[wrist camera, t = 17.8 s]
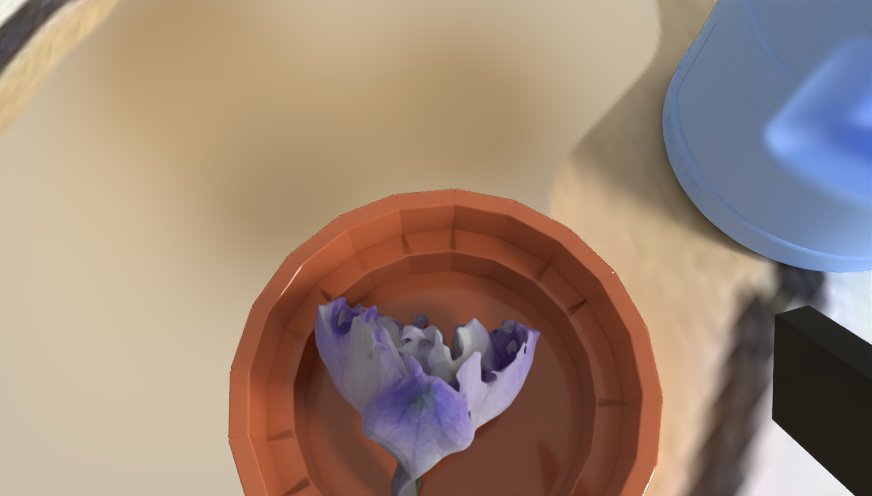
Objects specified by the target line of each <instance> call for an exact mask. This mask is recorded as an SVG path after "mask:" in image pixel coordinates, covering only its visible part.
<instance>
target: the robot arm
mask: <svg viewBox="0 0 872 496" xmlns="http://www.w3.org/2000/svg"><path fill="white" fill-rule="evenodd" d="M772 420H774V421H775V422H776V423H777V424H778V425H779V426H780V427H781V428H782V429H783V430H784V431H785V432H786V433H788V434H789V435H790V436H791V437H792V438H793V439H794V440H795V441H796V442H797V443H798V444H799V445H801V446H802V447H803V448H804V449H805V450H806V451H807V452H808V453H809V454H810V455H811V456H812V457H814V458H815V459H816V460H817V461H818V462H819V463H820V464H821V465H822V466H823V467H824V468H825V469H826V470H828V471H829V472H830V473H831V474H832V475H833V476H834V477H835V478H836V479H837V480H838V481H839V482H841V483H842V484H843V485H844V486H845V487H846V488H847V489H848V490H849V491H850V492H851V493H852V494H854V495H855V496H872V345H871V344H870V343H868V342H866V341H865V340H863V339H862V338H860V337H858V336H857V335H855V334H854V333H852V332H851V331H849V330H847V329H846V328H844V327H843V326H841V325H839V324H838V323H836V322H835V321H833V320H831V319H830V318H828V317H827V316H825V315H824V314H822V313H820V312H819V311H817V310H816V309H814V308H812V307H811V306H809V305H808V306H804V307H801V308H797V309H794V310H790V311H787V312H783V313H780V314H776V315H775V333H774V368H773V402H772Z"/></svg>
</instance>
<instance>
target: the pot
mask: <svg viewBox="0 0 872 496" xmlns="http://www.w3.org/2000/svg"><path fill="white" fill-rule="evenodd" d="M338 297H344V298H346V300H347V304H348V305H349V306H350V307H351V308H352V309H353V307H354V306H355V305H357V304H359V303H360V305H361V306H362V307H365V308H370V307H372V306H374V305H376V308H377V312H378V313H379V314H380V315H382V316H385V315H386V316H390V317H392V318H394V319H396V320H397V321H399V322H401V323H402V324H404V325H406V326H409V325H410V324H411V323H412V319H413V316H414V315H416V314H419V313H422V314H424V315H425V316H427V317H428V318H429V321H428V324H426V325H425V326H424V329H425V328H427V327H429V326H432V325H433V326H435V327H436V328H437V329H438V330H440V331H442V332H444V334H445V335H444V341H445V344H446V345H447V346H448V347H449V348H450V349H451V350H452V351H453V348H452V341H453V337H454V332H455V327H456V325H457V324H465V325H467V324H468V323H469V322H470V321H471V320H472V319H473V318H476V319H477V320H478V321H479V322H480V323H481V324H482V325H483V326H484V327H485V329H486V330H487V332H491V331H492V330H494V329H495V328H501V327H502V320H504V321H507V320H514V321H516V322H517V323H520V324H523V325H525V326H527V327H530V328H533V329H536V330H539V332H540V335H539V338H538V340H537V342H536V347H535V352H534V357H533V362H532V365H531V367H530V370H529V372H528V374H527V377H526V379H525V382H524V384H523V386H522V388H521V390H520V391H519V393H518V395H517V396H516V398H515V399H514V401H513V402H512V404H511V405H510V406H508V407H507V408H506V409H505V410H504V411H503V412H502V413H501V414H499V415H498V416H496V417H494V418H493V419H491V420H489V421H488V422H486V423H485V424H483V425H481V426H480V427H478V428H477V429H476V430H475V434H474V439H473V441H472V442H471V444H470V446H468V447H467V448H466V449H465V450H462V451H458V452H454V453H451V454H449V455H447V456H445V457H444V458H442V459H441V460H440V461H439V462H437V463H436V464H435V465H434V466H433V467H432V468H431V469H429V470H428V471H427V472H425V473H424V474H423V475H421V478H422V485H421V489H420V492H419V496H644V495H645V493H646V490H647V488H648V486H649V483H650V481H651V479H652V476H653V474H654V472H655V470H656V467H655V466H657V461H658V449H659V438H660V427H661V415H662V404H663V396H662V389H661V384H660V380H659V376H658V371H657V367H656V362H655V358H654V353H653V349H652V345H651V340H650V336H649V331H648V330H647V326H646V324H645V322H644V321H643V319H642V317H641V316H640V314H639V312H638V310H637V309H636V307H635V305H634V303H633V302H632V300H631V298H630V296H629V295H628V293H627V291H626V289H625V288H624V286H623V284H622V282H621V281H620V279H619V277H618V276H617V274H616V272H615V271H614V270H613V269H612V268H611V267H610V266H609V265H608V264H607V263H606V262H605V261H604V260H602V259H601V258H600V257H599V256H598V255H597V254H596V253H595V252H594V251H593V250H592V249H591V248H590V247H589V246H588V245H587V244H586V243H585V242H583V241H582V240H581V239H580V238H579V237H578V236H577V235H576V234H575V233H574V232H573V231H572V230H571V229H569V228H568V227H566V226H564V225H562V224H560V223H559V222H557V221H555V220H553V219H551V218H549V217H547V216H545V215H543V214H541V213H539V212H537V211H535V210H533V209H531V208H529V207H527V206H525V205H523V204H521V203H519V202H517V201H513V200H511V199H506V198H501V197H496V196H490V195H485V194H480V193H475V192H470V191H465V190H459V189H455V190H454V189H447V190H436V191H426V192H414V193H403V194H396V195H391V196H389V197H386V198H383V199H381V200H378V201H376V202H373V203H371V204H368V205H366V206H363V207H361V208H358V209H355V210H353V211H351V212H348V213H345V214H343V215H340V216H339V218H338V217H337V218H336V219H334V220H333V221H332V222H331V223H329V224H328V225H327V226H325V227H324V228H323V229H322V230H320V231H319V232H318V233H316V234H315V235H314V236H312V237H311V238H310V239H309V240H307V241H306V242H305V243H303V244H302V245H301V246H300V247H298V248H297V249H296V250H294V251H293V252H292V253H291V254H290V255H289V256H288V257H287V258H286V259H285V261H284V262H283V263H282V265H281V266H280V267H279V269H278V270H277V272H276V273H275V274H274V276H273V277H272V279H271V280H270V281H269V283H268V284H267V286H266V287H265V289H264V290H263V291H262V293H261V294H260V295H259V297H258V298H257V299H256V301H255V302H254V304H253V305H252V307H253V308H251V310H250V313H249V316H248V319H247V322H246V325H245V328H244V331H243V334H242V337H241V339H240V342H239V346H238V348H237V351H236V354H235V358H234V360H233V363H232V366H231V371H230V393H229V396H230V397H229V435H228V437H229V444H230V447H231V451H232V454H233V457H234V461H235V464H236V467H237V471H238V474H239V477H240V481H241V484H242V487H243V491H244V494H245V496H393V495H392V491H391V482H392V478H393V475H394V473H395V470H396V468H397V465H398V461H397V460H396V459H394V458H393V457H392V456H391V455H390V454H389V453H388V452H387V451H386V450H385V449H383V448H382V447H381V446H380V445H378V444H377V443H376V442H374V441H372V440H370V439H368V438H366V436H365V435H364V433H363V431H362V425H361V415H360V414H359V413H358V411H357V410H356V409H355V408H354V407H353V406H351V405H350V404H349V403H348V402H347V401H346V400H345V399H344V398H343V397H342V395H341V394H340V393H339V392H338V391H337V389H336V387H335V385H334V382H333V380H332V378H331V376H330V374H329V371H328V369H327V367H326V365H325V364H324V362H323V360H322V359H321V357H320V354H319V351H318V348H317V345H316V339H315V324H316V317H317V310H318V305H326V304H328V303H330V302H331V301H333V300H335V299H337V298H338Z"/></svg>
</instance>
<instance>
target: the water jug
mask: <svg viewBox="0 0 872 496" xmlns="http://www.w3.org/2000/svg"><path fill="white" fill-rule="evenodd" d="M662 125H663V137H664V143H665V148H666V152H667V155H668V158H669V161H670V164H671V167H672V169H673V171H674V173H675V175H676V177H677V179H678V181H679V183H680V185H681V186H682V188H683V190H684V191H685V193H686V194H687V195H688V197H689V198H690V200H691V201H692V202H693V203H694V205H695V206H696V207H697V208H698V209H699V210H700V211H701V213H702V214H703V215H704V216H705V217H706V218H707V219H708V220H709V221H711V222H712V223H713V224H714V225H715V226H716V227H717V228H719V229H720V230H721V231H722V232H724V233H725V234H726V235H728V236H729V237H731V238H732V239H734V240H735V241H737V242H738V243H740V244H741V245H743V246H745V247H747V248H748V249H750V250H752V251H754V252H756V253H758V254H760V255H763V256H765V257H767V258H770V259H772V260H775V261H778V262H781V263H784V264H787V265H791V266H795V267H799V268H803V269H809V270H815V271H824V272H857V271H865V270H871V269H872V0H718V2H717V3H716V5H715V7H714V9H713V11H712V13H711V14H710V16H709V18H708V20H707V22H706V23H705V25H704V27H703V29H702V31H701V32H700V34H699V36H698V38H697V39H696V41H695V42H694V43H693V44H692V45H691V47H690V48H689V49H688V51H687V52H686V54H685V56H684V57H683V59H682V61H681V63H680V65H679V66H678V68H677V70H676V72H675V74H674V76H673V78H672V80H671V82H670V85H669V87H668V90H667V93H666V97H665V101H664V107H663V119H662Z"/></svg>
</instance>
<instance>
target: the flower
mask: <svg viewBox="0 0 872 496" xmlns="http://www.w3.org/2000/svg"><path fill="white" fill-rule="evenodd" d="M428 321H429V318H428V317H427V316H425V315H424V314H422V313H419V314H416V315H414V316H413V319H412V323H411V324H410V325H409V326H406V325H404V324H402V323H401V322H399V321H397V320H396V319H394V318H392V317H390V316H386V315H385V316H382V315H380V314H379V313H378V312H377V308H376V305H374V306H372V307H370V308H365V307H362V306H361V305H360V303H359V304H357V305H355V306H354V307H353V309H352V308H351V307H350V306H349V305H348V304H347V300H346V298H344V297H338V298H337V299H335V300H333V301H331V302H330V303H328V304H326V305H318V310H317V317H316V324H315V339H316V345H317V348H318V351H319V354H320V357H321V359H322V360H323V362H324V364H325V365H326V367H327V369H328V371H329V374H330V376H331V378H332V380H333V382H334V385H335V387H336V389H337V391H338V392H339V393H340V394H341V395H342V397H343V398H344V399H345V400H346V401H347V402H348V403H349V404H350V405H351V406H353V407H354V408H355V409H356V410H357V411H358V413H359V414H360V415H361V425H362V431H363V433H364V435H365V436H366V438H368V439H370V440H372V441H374V442H376V443H377V444H378V445H380V446H381V447H382V448H383V449H385V450H386V451H387V452H388V453H389V454H390V455H391V456H392V457H393V458H394V459H396V460H397V461H398V465H397V468H396V470H395V473H394V475H393V478H392V482H391V491H392V495H393V496H419V492H420V489H421V485H422V478H421V475H423V474H424V473H425V472H427V471H428V470H429V469H431V468H432V467H433V466H434V465H435V464H436V463H437V462H439V461H440V460H441V459H442V458H444V457H445V456H447V455H449V454H451V453H454V452H458V451H462V450H465V449H466V448H467V447H468V446H470V444H471V442H472V441H473V439H474V434H475V430H476V429H477V428H478V427H480V426H481V425H483V424H485V423H486V422H488V421H489V420H491V419H493V418H494V417H496V416H498V415H499V414H501V413H502V412H503V411H504V410H505V409H506V408H507V407H508V406H510V405H511V404H512V402H513V401H514V399H515V398H516V396H517V395H518V393H519V391H520V390H521V388H522V386H523V384H524V382H525V379H526V377H527V374H528V372H529V370H530V367H531V365H532V362H533V357H534V352H535V347H536V342H537V340H538V338H539V335H540V332H539V330H536V329H533V328H530V327H527V326H525V325H523V324H520V323H517V322H516V321H514V320H507V321H504V320H502V327H501V328H495V329H494V330H492V331H491V332H487V330H486V329H485V327H484V326H483V325H482V324H481V323H480V322H479V321H478V320H477V319H476V318H473V319H472V320H471V321H470V322H469V323H468V324H467V325H465V324H457V325H456V327H455V332H454V337H453V341H452V348H453V351H452V350H451V349H450V348H449V347H448V346H447V345H446V344H445V341H444V335H445V334H444V332H442V331H440V330H438V329H437V328H436V327H435V326H433V325H432V326H429V327H427V328H425V329H424V326H425V325H426V324H428Z"/></svg>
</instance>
